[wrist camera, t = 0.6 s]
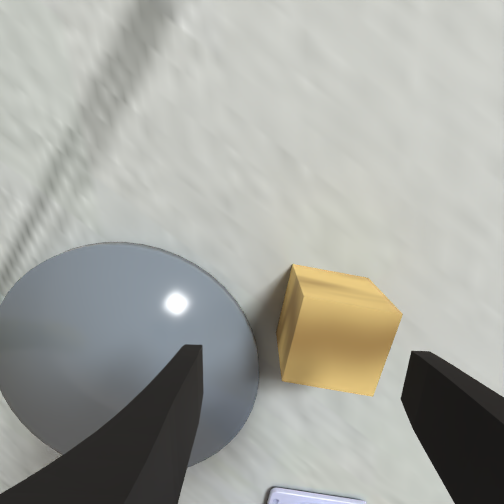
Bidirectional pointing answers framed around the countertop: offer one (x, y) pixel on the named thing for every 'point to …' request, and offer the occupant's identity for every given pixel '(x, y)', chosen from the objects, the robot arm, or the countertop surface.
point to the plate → (121, 342)
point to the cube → (334, 331)
